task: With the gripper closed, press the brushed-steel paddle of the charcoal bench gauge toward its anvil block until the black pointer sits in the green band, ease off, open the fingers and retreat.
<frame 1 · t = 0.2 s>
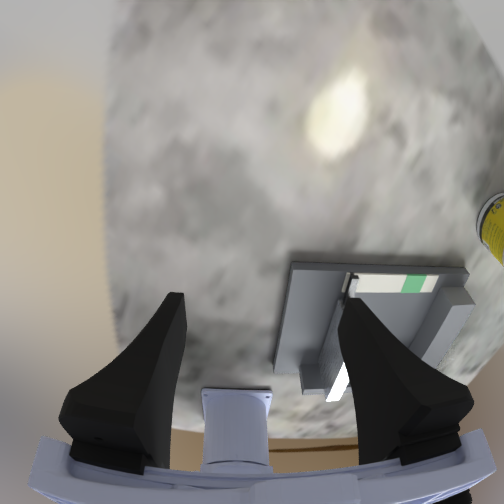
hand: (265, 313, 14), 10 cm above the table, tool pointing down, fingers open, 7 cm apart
travel mug: (411, 392, 38), on the table
supplement bottle: (494, 216, 23), on the table
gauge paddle: (343, 342, 25), point 4 cm above the table, slide at 0.0 cm
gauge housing: (369, 321, 29), on the table
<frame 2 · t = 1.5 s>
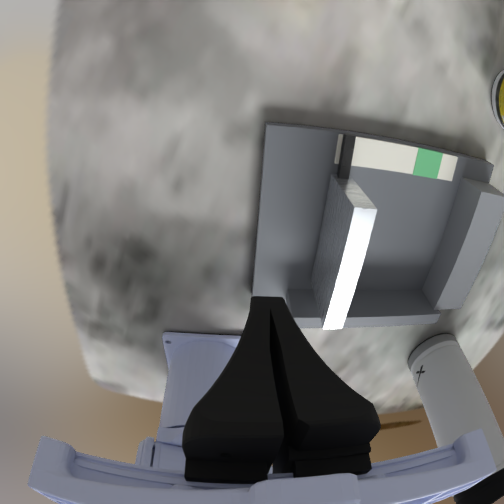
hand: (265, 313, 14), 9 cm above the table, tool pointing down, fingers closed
travel mug: (430, 351, 31), on the table
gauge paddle: (342, 233, 18), point 4 cm above the table, slide at 0.0 cm
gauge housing: (376, 226, 22), on the table
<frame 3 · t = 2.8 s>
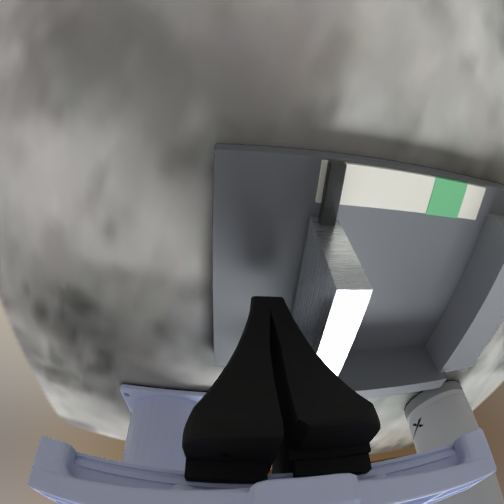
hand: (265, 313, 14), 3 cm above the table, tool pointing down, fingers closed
travel mug: (430, 397, 26), on the table
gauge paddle: (323, 304, 13), point 4 cm above the table, slide at 0.0 cm, touching gripper
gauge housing: (373, 277, 17), on the table
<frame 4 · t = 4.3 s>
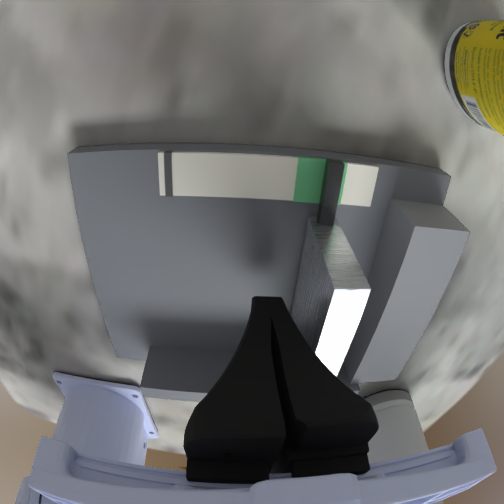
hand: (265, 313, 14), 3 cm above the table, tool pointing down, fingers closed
travel mug: (376, 406, 25), on the table
supplement bottle: (479, 71, 11), on the table
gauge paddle: (321, 303, 13), point 4 cm above the table, slide at 6.3 cm, touching gripper
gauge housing: (256, 273, 16), on the table
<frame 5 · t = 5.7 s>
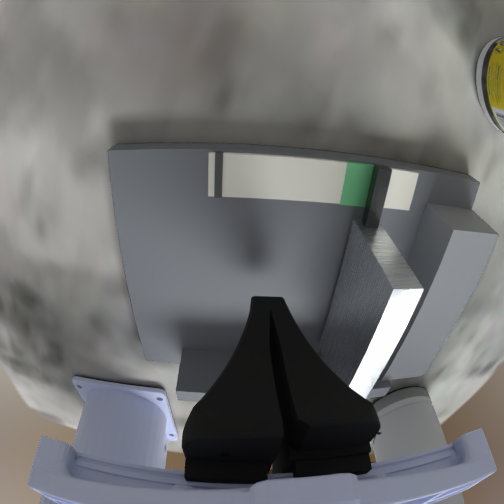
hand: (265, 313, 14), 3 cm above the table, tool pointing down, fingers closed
travel mug: (394, 403, 26), on the table
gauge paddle: (366, 303, 13), point 4 cm above the table, slide at 6.3 cm
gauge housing: (295, 274, 17), on the table
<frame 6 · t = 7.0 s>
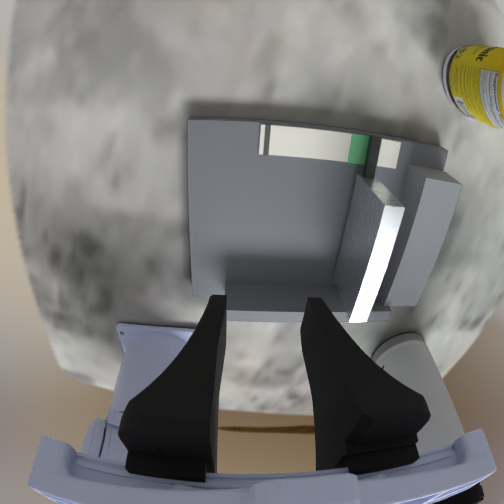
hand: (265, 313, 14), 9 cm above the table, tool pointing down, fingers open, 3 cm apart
travel mug: (396, 351, 31), on the table
supplement bottle: (467, 79, 16), on the table
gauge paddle: (368, 230, 18), point 4 cm above the table, slide at 6.3 cm
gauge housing: (315, 218, 22), on the table
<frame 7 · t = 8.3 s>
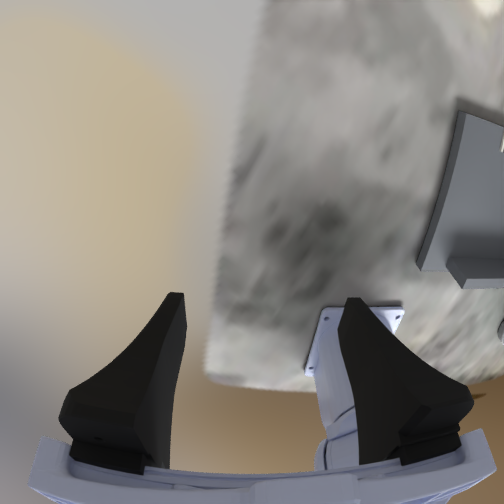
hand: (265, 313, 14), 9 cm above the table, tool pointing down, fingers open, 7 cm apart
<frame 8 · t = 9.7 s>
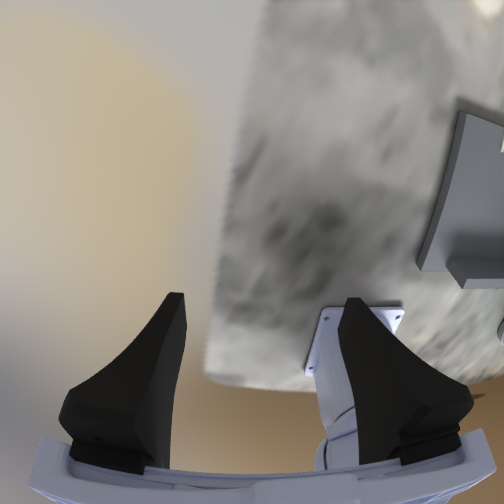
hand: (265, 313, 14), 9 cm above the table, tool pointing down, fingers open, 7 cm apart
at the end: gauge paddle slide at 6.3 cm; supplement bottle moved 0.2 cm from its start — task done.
